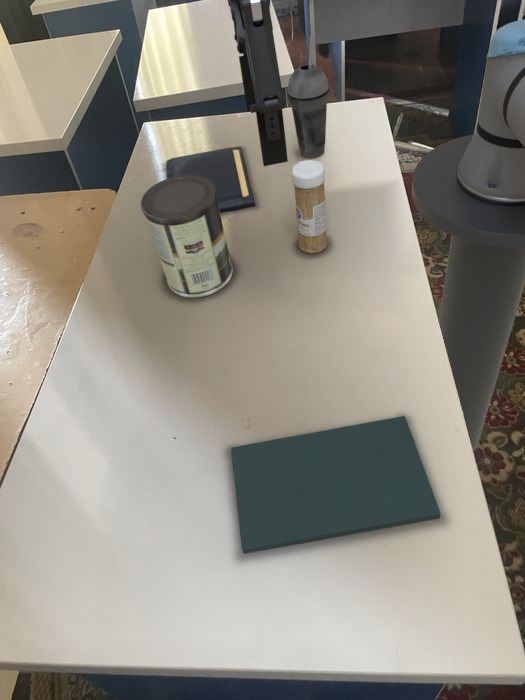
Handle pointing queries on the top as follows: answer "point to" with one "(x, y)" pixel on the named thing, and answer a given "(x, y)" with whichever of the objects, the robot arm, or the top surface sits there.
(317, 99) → the beverage cup
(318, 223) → the sprinkles bottle
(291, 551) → the top surface
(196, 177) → the coffee can
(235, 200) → the dark blue book
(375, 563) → the top surface
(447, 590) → the top surface
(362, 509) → the dark green mat
